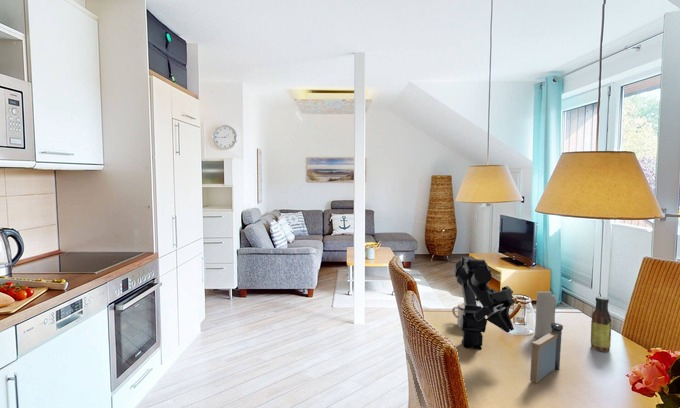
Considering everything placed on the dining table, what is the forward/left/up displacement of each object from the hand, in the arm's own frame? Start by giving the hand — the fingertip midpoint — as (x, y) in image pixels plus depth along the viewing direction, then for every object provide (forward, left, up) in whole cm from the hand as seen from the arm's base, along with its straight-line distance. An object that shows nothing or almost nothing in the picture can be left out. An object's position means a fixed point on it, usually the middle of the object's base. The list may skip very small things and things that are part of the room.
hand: (510, 331), depth 126 cm
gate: (+9, -4, -12) cm, 16 cm away
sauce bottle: (+38, +23, -13) cm, 46 cm away
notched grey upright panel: (+23, +32, -13) cm, 41 cm away
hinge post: (+15, +3, -13) cm, 20 cm away
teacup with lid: (-10, +35, -13) cm, 38 cm away
